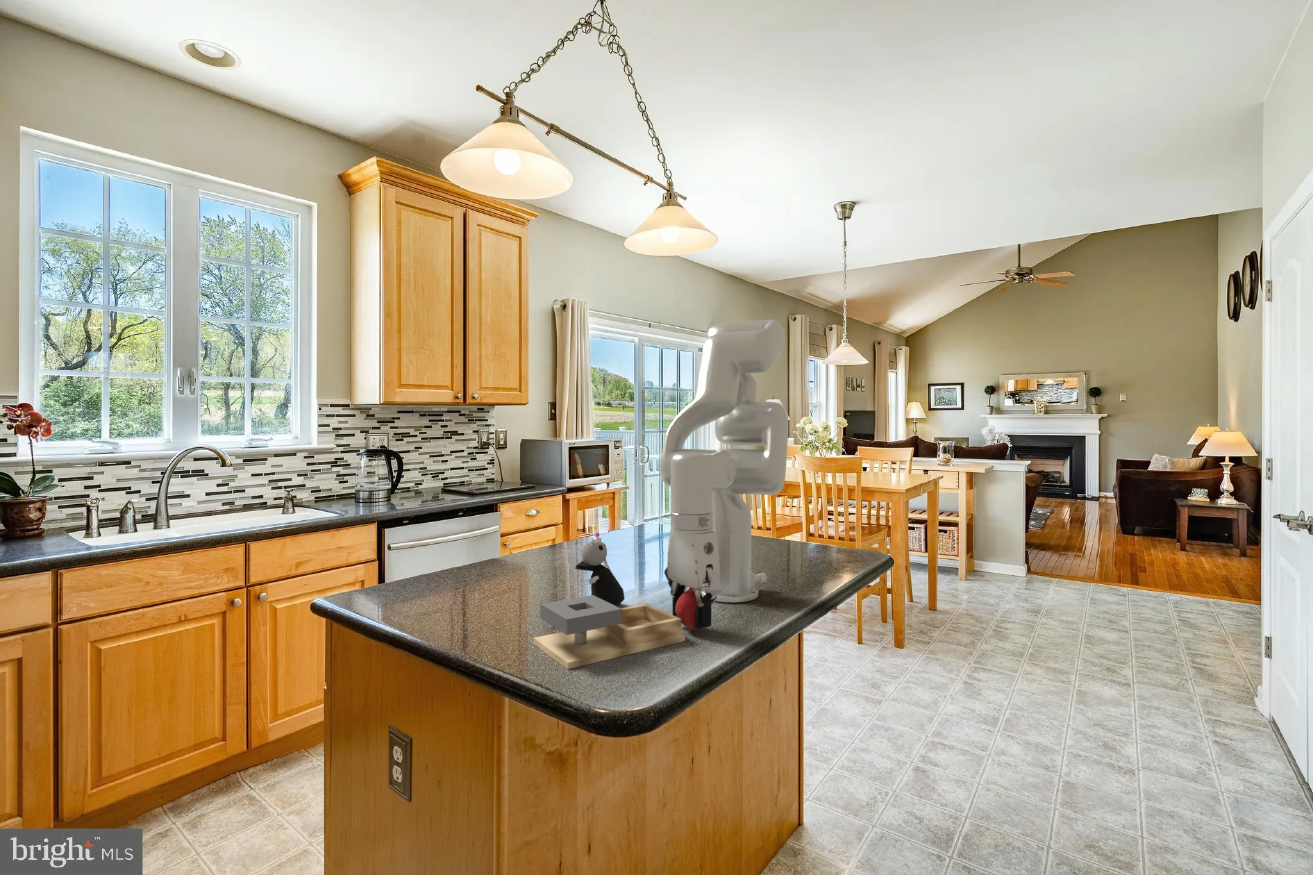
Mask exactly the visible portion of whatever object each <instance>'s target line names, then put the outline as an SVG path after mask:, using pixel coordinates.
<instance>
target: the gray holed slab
mask: <svg viewBox="0 0 1313 875" xmlns="http://www.w3.org/2000/svg"><path fill="white" fill-rule="evenodd" d="M621 608H622V607H621ZM621 608H620V607H619V606H615V605H612V604H610V603H608V602H606V601H604V600H602V599H600V598H598V597H596V596H594V595H591V594H590V595H585V596H580V597H574V598H568V599H562V600H556V601H551V602H550V601H549V602H544V603H540V610H539V612H540V616H539V617H540V619H541V620H542V621H544V622H545V623H547V624H549V625H550V626H551V627H554V628H555V629H556V630H558V631H559V632H563V633H564V634H566V635H569V634H574V633H579V632H584V631H589V630H593V629H598V628H603V627H608V626H613V625H618V624H622V609H621Z"/></svg>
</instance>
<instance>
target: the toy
mask: <svg viewBox="0 0 1313 875" xmlns="http://www.w3.org/2000/svg"><path fill="white" fill-rule="evenodd" d="M594 536H595V539H594V538H593V537H591V539H590V540H588V541H586V542H585V543H584V544H583V546H582V548H581V551H580V554H581V558H582V561H580V562H579V563H576V564H575V570H580V571H587V572H592V573H591V575H590V578H588V579H587V581H588V584H589V585H590V595H594V596H596V597H598V598H600V599H602V600H604V601H606V602H608V603H610V604H612V605H615V606H617V607H619V606H620V605H621V604H622V603H623V601H624V600H625V592H624V589H623V587H622V585H621V584H620V583H619V581H618V580H617V578H616V576H615V575H614V574H613V572H612V570H611V568H610V565H609V564H608V561H607V554H608V549H607V545H606V544H605V543H603V541H602V537H600V533H595V535H594Z"/></svg>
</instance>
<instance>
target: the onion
mask: <svg viewBox="0 0 1313 875" xmlns="http://www.w3.org/2000/svg"><path fill="white" fill-rule="evenodd" d="M695 606H698V604H697V599H696V595H695V590H694V589H692V588H689V587H688V588H687V590H686V592H684V593H683V594H682V595H681V596H680V597H679V599H678V601H677V603H676V606H675V611H676V615H677V617H678V618H680V619H681V625H683V626H684V627H685V628H687V630H689V631H695V630H696V628H695Z"/></svg>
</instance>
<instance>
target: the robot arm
mask: <svg viewBox="0 0 1313 875" xmlns="http://www.w3.org/2000/svg"><path fill="white" fill-rule="evenodd" d="M785 343H786V333H785V330H784V326H783V325H782V324H781V322H779V321H778V320H776V319H759V320H758V319H756V320H738V321H736V320H735V321H727V322H726V321H725V322H721V323H720V322H719V323H717V324H714V325H712V326H711V327H710V328H708V330H707V333H706V339H705V341H704V343H703V345H702V348H701V349H702V350H701V355H700V361H699V365H698V366H699V367H698V374H697V380H696V385H695V392H694V397H693V399H692V400H691V401H690V402H689V403H688V404H687V405H686V406H684V407H683V409H681V410H680V411H679V413H678V414H677V415H676V416H675V417H674V419H673V421H672V422H671V423H670V424H669V426H668V428H667V429H666V433H665V436H664V439H663V444H662V445H663V446H662V451H661V456H660V457H661V458H660V464H659V471H660V473H659V474H660V478H661V480H662V481H663V483H664V484H665V485H666V486H668V487H670V530H669V536H668V545H667V546H668V547H667V558H666V559H667V566H666V568H665V569H664V571H663V574H664V576H665V578H666V579H667V583H668V586H669V588H670V592H669V593H670V596H671V597H672V601H671V602H672V604H671V605H672V614H671V615H673V616H676V617H677V615H676V611H675V606H676V603H677V601H678V599H679V597H680V596H681V595H682V594H683V593H684V592H686V591H688V589H689V588H692V589H694V590H695V595H696V599H697V604H698V606H695V628H696V629H697V630H701V629H706V628H709V627H711V626H712V605H714V603H715V602H719V603H744V602H746V603H747V602H751V601H753V600H756V599H757V598H758V597H759V590H758V589H757V588H756V587H755V586H756V585H757V583H764V582H766V581H767V580H768V576H767V574H766V573H764V572H762V573H756V574H755V572H752V514H751V510H750V508H749V506H748V505H747V502H745V500H744V499H743V497H742V496H741V495H760V496H761V495H762V496H766V495H767V496H774V495H776V494H780V492H782V490H783V488H784V486H785V482H786V475H787V474H786V472H787V458H788V456H787V455H788V444H789V442H788V441H789V417H788V412H787V410H786V408H785V407H784V405H783V404H781V403H778V402H777V401H756V400H757V389H758V383H757V380H756V378H755V377H754V375H753V374H760V373H761V374H762V373H767V372H769V371H770V370H771V369H772V368H773V367H774V366H775V365H776V363H777V361H778V360H779V358H780V357H781V355H782V354H783V352H784V349H785ZM712 422H714V433H715V437H716V440H718V442H720V443H722V444H725V445H730V446H731V445H732V446H758V447H759V446H761V447H764V449H750V448H749V449H745V448H719V449H701V448H700V449H699V448H698V449H695V448H692V449H691V448H690V449H689V448H683V446H684V445H685V442H686V441H687V439H688V438H689V437H690V436H691V435H692V434H693V433H694V432H695V431H696V430H698V429H699V428H701V427H705V425H708V424H710V423H712ZM696 629H695V630H696Z"/></svg>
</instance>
